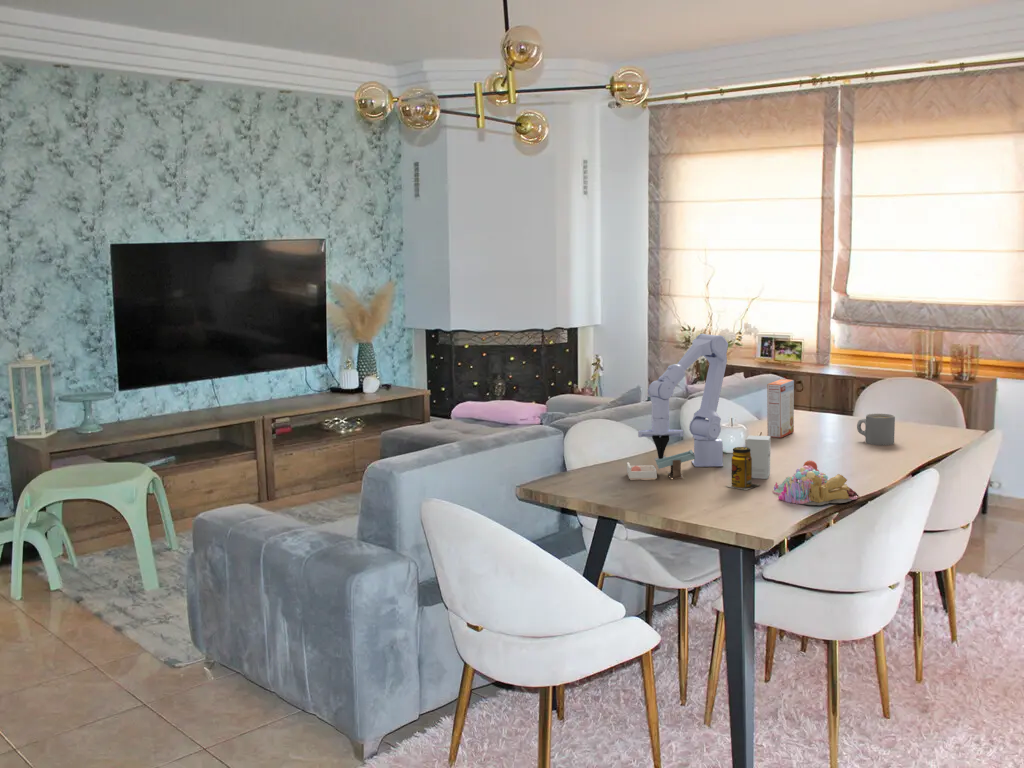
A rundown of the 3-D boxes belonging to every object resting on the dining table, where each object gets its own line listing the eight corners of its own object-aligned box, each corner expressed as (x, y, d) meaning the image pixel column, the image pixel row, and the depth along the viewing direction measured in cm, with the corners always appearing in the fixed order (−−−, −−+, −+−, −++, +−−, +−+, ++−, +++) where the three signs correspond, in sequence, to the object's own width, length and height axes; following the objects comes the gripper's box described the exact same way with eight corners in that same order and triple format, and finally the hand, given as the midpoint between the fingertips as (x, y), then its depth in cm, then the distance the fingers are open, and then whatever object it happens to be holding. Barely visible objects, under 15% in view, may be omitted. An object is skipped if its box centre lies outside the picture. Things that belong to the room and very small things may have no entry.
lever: (689, 451, 328) (688, 445, 328) (695, 458, 316) (693, 452, 316) (654, 460, 329) (653, 455, 329) (658, 468, 317) (657, 463, 317)
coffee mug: (899, 442, 365) (900, 415, 363) (884, 446, 359) (884, 419, 357) (867, 437, 375) (867, 411, 374) (851, 441, 369) (852, 414, 368)
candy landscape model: (874, 499, 286) (875, 468, 285) (815, 512, 275) (816, 479, 274) (809, 483, 308) (809, 454, 307) (752, 494, 297) (752, 463, 295)
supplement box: (768, 479, 313) (768, 440, 311) (744, 478, 316) (744, 439, 314) (770, 474, 320) (771, 435, 318) (747, 473, 322) (747, 434, 321)
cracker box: (779, 431, 392) (780, 378, 390) (794, 432, 389) (795, 379, 386) (765, 437, 381) (766, 383, 378) (781, 438, 378) (781, 384, 375)
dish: (653, 473, 324) (653, 461, 324) (656, 479, 316) (656, 467, 315) (627, 474, 325) (627, 462, 324) (629, 480, 316) (629, 468, 315)
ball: (628, 470, 322) (636, 476, 322) (629, 472, 318) (637, 478, 319) (635, 462, 321) (642, 469, 321) (636, 465, 318) (643, 471, 318)
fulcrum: (680, 473, 324) (680, 455, 323) (683, 479, 316) (683, 460, 315) (667, 473, 324) (667, 455, 323) (670, 479, 316) (670, 461, 315)
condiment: (725, 486, 305) (725, 448, 303) (741, 481, 311) (741, 444, 309) (745, 490, 300) (746, 451, 298) (761, 485, 305) (761, 447, 304)
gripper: (639, 419, 321) (639, 461, 322) (684, 419, 320) (684, 460, 322) (637, 416, 328) (637, 456, 329) (681, 415, 327) (681, 455, 329)
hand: (660, 458), depth 326 cm, fingers closed
